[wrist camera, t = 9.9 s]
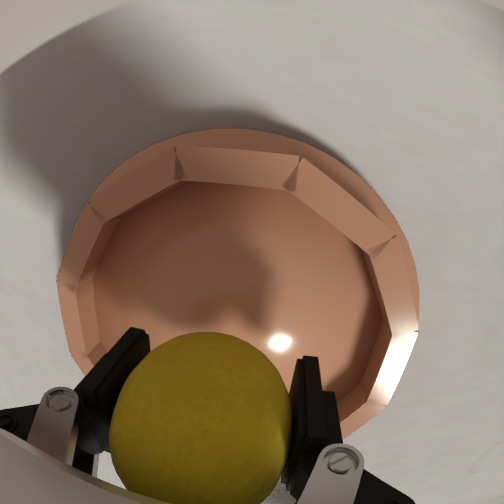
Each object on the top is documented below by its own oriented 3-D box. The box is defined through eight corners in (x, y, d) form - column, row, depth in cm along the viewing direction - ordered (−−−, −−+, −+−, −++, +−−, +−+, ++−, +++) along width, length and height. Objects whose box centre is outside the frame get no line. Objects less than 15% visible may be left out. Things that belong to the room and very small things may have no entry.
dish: (445, 166, 11) (474, 169, 9) (354, 448, 16) (359, 476, 14) (72, 132, 12) (40, 130, 10) (100, 406, 18) (84, 429, 15)
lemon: (139, 329, 12) (34, 465, 5) (243, 269, 11) (174, 455, 3) (212, 413, 13) (170, 554, 6) (315, 373, 12) (328, 547, 4)
